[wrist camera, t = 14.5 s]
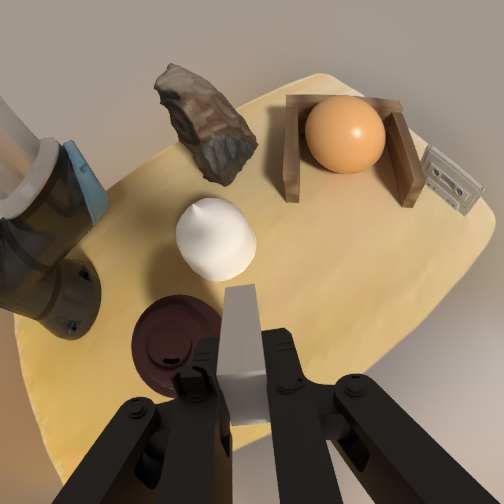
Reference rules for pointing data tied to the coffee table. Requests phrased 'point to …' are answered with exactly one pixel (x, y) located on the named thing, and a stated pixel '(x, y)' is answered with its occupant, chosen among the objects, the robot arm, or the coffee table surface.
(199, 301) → the coffee cup
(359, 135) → the ball
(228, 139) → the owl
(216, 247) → the teardrop
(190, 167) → the coffee table surface
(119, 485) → the robot arm
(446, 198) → the cassette
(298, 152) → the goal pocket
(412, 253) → the coffee table surface
